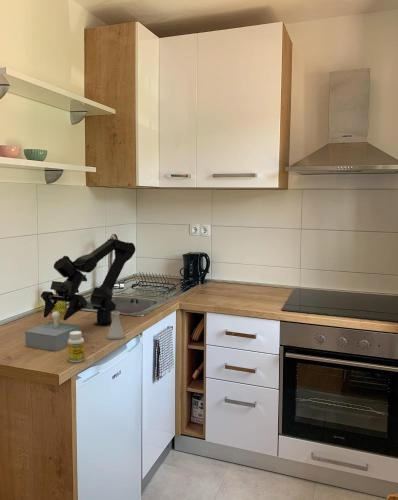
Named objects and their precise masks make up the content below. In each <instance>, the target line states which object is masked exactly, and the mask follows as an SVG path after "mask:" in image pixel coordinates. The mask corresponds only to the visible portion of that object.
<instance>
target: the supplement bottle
mask: <svg viewBox="0 0 398 500" xmlns="http://www.w3.org/2000/svg"><path fill="white" fill-rule="evenodd" d="M82 336H83V333H82V331H81V330H80V331H73V332H70V339H69V340H68V346H67V347H68V348H67V352H68V354H67V355H68V361H69V362H70V363H80V362H83V361H84V360H85V359H86V357H85V354H86V353H85V338H84V337H82Z"/></svg>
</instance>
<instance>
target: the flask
mask: <svg viewBox="0 0 398 500" xmlns="http://www.w3.org/2000/svg"><path fill="white" fill-rule="evenodd" d="M111 319H112V323H111V324H110V325H109V330H108V333H107V336H106V338H107V340H114V341H115V340H122V339H124V338H126V334H125V332H124V330H123V329H124V328H123V326H122V324H121V320H120V311H111Z"/></svg>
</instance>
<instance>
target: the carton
mask: <svg viewBox="0 0 398 500" xmlns="http://www.w3.org/2000/svg"><path fill="white" fill-rule="evenodd" d="M40 326H41V325H38V326H36V327H34V328H30V329H28V330H25V331H24V334H25V335H24V336H25V337H24V338H25V340H24V341H25V347H28V348H35V349H40V350H46V351H51V352H52V351H53V352H58V351H59V350H62V349H63V348H66V347H68V340H69V339H70V332H73V331H81V326H80V327H79V328H76V329H74V330H72V331H70V332H68V330H61V329H54V328H47V327H40Z"/></svg>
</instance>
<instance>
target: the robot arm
mask: <svg viewBox="0 0 398 500" xmlns="http://www.w3.org/2000/svg"><path fill="white" fill-rule="evenodd" d="M113 251H114V259H113V262H112V263H111V265H110V267H109V270H108V272H107V274H106V275H105V278H104V279H103V282H102V284H101V285H100V286H99V287H94V288H93V290H92V293H91V294H90V298H89V299H90V304H91V306H92V308H93V310H96V322H93V323H94V325H98V326H104V327H108V326H111V323H112V312H114V311H115V310H116V306H117V305H116V304H115V302H114V301H113V300H112V299H113V289H114V288H115V287H114V286H115V285H116V283H117V280H118V279H119V276H120V275H121V272H122V270H123V268H124V266H125V264H126V262H128V261H129V260H130V259H132V258H133V256H134V254H135V253H136V245H135V244H134V243H133V242H126V241H122V240H120V239H118V238H108V239H107V240H106V241H105V242H103V244H101V245H100V246H98V247H97V248H96V249H94V250H92V251H91V252H90V253H88V254H83V255H81V256H79V257H77V258H76V259H75V260H74V261H72V260H71V259H70V257H69V256H68V255H63V257H60V258H59V259H57V260H56V261H55V262H54V264H53V268H54V270H55V271H56V272H57V273H58V274H59V275H60V276H61V277H63V278H66V279H65V280H64V281H58V280H57V281H55V280H52V282H51V286H50V287H49V289H50V290H53V291H55V294H54V292H53V291H47V290H45V291H42V292H41V295H40V297H41V300H43V302H44V310H43V318H45V319H47V317H48V316H49V315H50V313H52V311H53V310H54V308H56V304H57V303H58V302H61V303H62V302H63V303H69V305H68V307H67V309H66V312H65V314H63V318H62V319H63V321H67V320H68V319H69V318H70V317H72V316H73V315H75V314H76V313H78V312H79V311H82V310H83V309H86V308H87V306H88V305H89V304H88V301H87V299H86V298H85V297H84V296H83V294H79V293H80V290H79V288H80V285H81V283H82V282H87V281H88V279H87V276H86V275H87V274H88V273H91V272H92V271H94V270H95V268H96V267H97V266H98V263H99V262H100V261H101V260H103V259H104V258H105V257H107V256H108V255H109V254H111V252H113ZM83 273H87V274H83ZM56 294H57V295H56Z"/></svg>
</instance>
